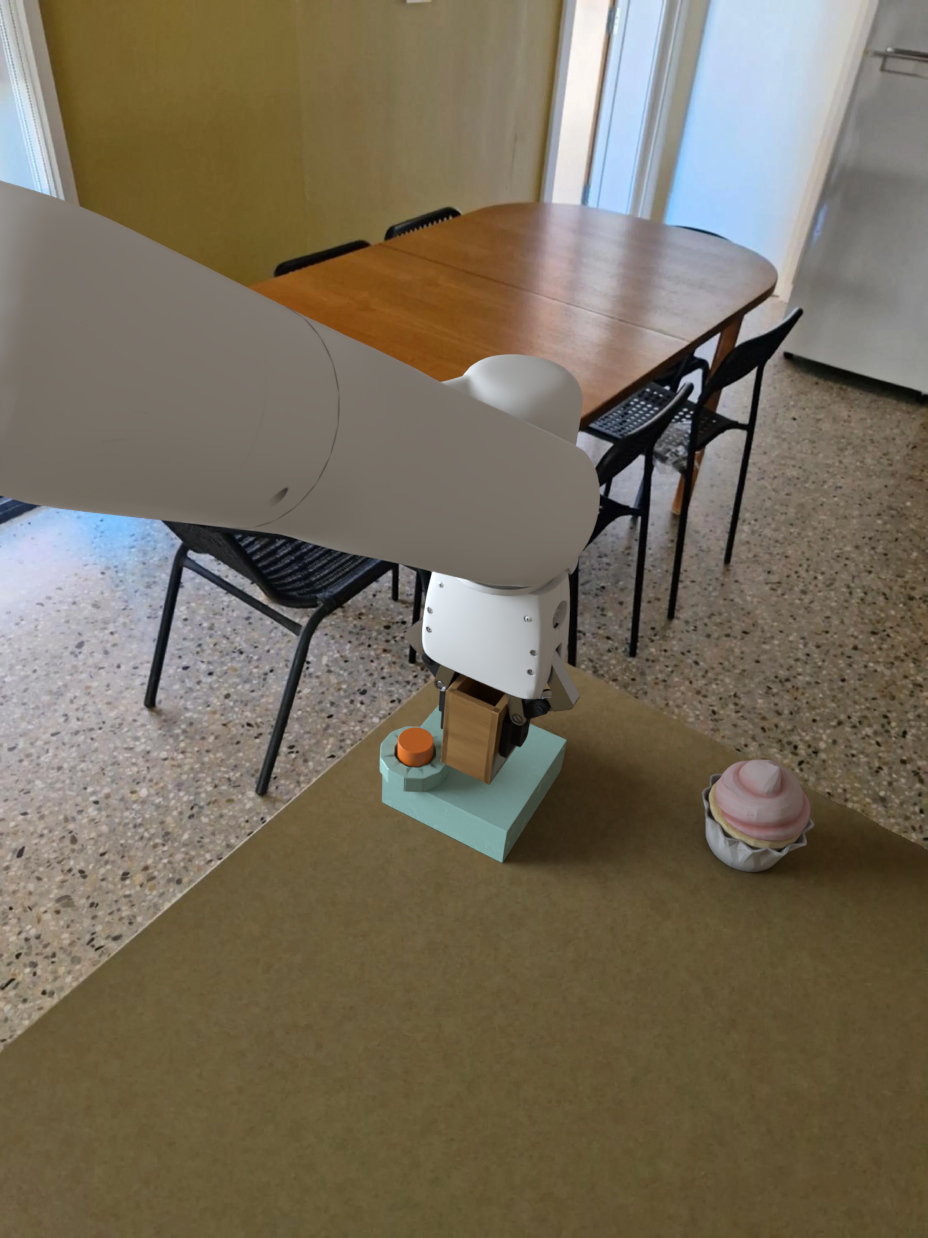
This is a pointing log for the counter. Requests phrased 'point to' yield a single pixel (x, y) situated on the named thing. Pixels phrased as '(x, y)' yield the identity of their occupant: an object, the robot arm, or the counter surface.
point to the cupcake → (755, 814)
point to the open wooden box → (474, 728)
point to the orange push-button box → (473, 789)
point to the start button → (415, 747)
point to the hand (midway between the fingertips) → (481, 730)
